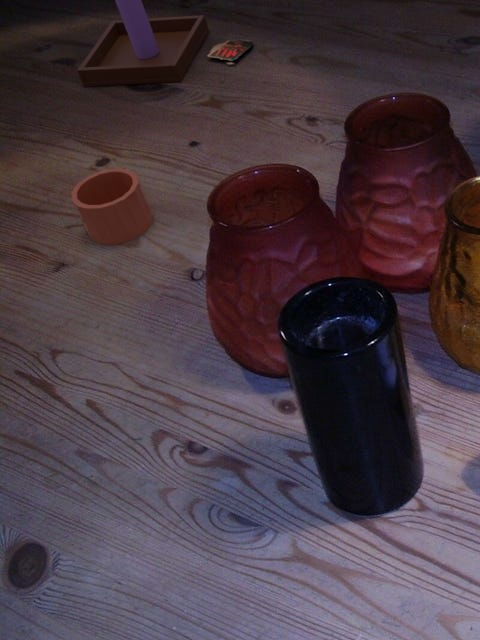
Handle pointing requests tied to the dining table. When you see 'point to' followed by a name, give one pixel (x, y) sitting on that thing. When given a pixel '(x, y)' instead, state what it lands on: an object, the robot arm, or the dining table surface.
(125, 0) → the glue stick
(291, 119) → the dining table surface
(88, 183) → the cup
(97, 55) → the tray
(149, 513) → the dining table surface
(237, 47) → the matchbox
